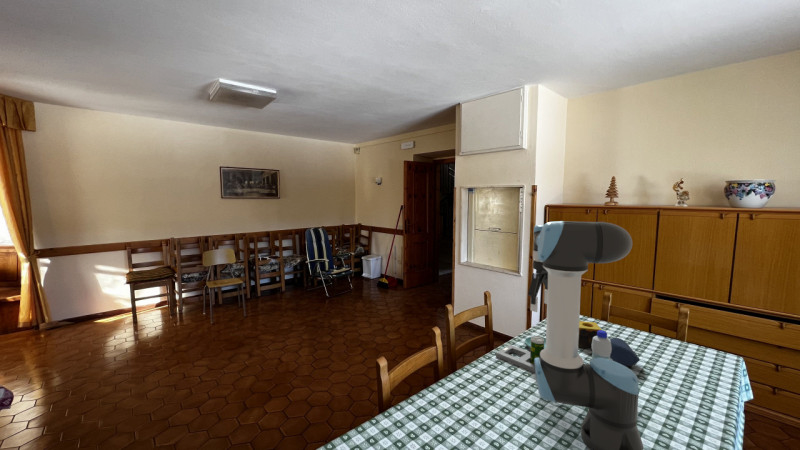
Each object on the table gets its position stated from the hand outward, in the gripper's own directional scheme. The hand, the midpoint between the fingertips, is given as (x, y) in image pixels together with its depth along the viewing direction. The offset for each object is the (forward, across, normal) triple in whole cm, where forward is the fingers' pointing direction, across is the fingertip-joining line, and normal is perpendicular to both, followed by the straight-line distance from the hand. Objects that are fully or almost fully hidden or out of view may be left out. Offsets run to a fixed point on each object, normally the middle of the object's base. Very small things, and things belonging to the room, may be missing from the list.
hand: (540, 307), depth 140 cm
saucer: (+24, +10, +4) cm, 26 cm away
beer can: (+23, -8, -2) cm, 25 cm away
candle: (+24, +30, -10) cm, 39 cm away
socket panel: (+23, -8, +3) cm, 25 cm away
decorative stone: (+24, +21, -26) cm, 41 cm away
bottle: (+23, 0, -24) cm, 34 cm away
